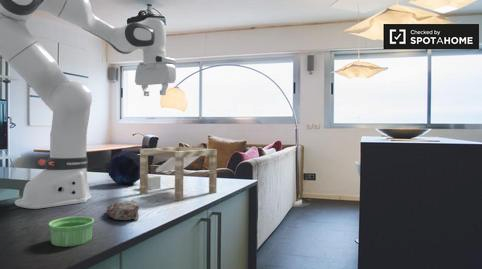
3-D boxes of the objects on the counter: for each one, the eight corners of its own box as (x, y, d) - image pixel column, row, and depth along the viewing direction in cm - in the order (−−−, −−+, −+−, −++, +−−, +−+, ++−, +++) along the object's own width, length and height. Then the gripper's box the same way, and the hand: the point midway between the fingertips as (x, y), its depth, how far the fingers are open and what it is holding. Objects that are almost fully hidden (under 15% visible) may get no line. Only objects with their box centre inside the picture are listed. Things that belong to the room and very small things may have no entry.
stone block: (140, 188, 144) (150, 190, 141) (140, 176, 144) (150, 177, 140) (150, 187, 148) (160, 188, 145) (150, 174, 148) (160, 176, 145)
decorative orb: (103, 175, 141) (127, 144, 145) (98, 170, 154) (120, 142, 158) (132, 195, 147) (155, 165, 151) (125, 189, 160) (146, 161, 164)
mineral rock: (105, 212, 105) (105, 197, 105) (133, 210, 108) (133, 195, 108) (108, 226, 91) (108, 208, 91) (140, 223, 95) (140, 206, 94)
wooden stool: (178, 201, 121) (179, 152, 121) (139, 193, 133) (140, 149, 132) (216, 192, 138) (216, 149, 137) (178, 186, 149) (179, 146, 149)
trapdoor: (179, 153, 125) (178, 150, 125) (155, 172, 132) (154, 170, 132) (206, 151, 136) (205, 149, 137) (182, 169, 144) (181, 166, 144)
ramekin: (38, 244, 76) (38, 224, 76) (72, 233, 85) (72, 214, 85) (70, 250, 73) (71, 229, 73) (102, 238, 82) (102, 218, 81)
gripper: (131, 61, 147) (131, 95, 147) (166, 56, 135) (166, 93, 135) (143, 64, 152) (143, 97, 152) (178, 59, 140) (178, 95, 140)
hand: (154, 95), depth 144 cm, fingers open, 8 cm apart
